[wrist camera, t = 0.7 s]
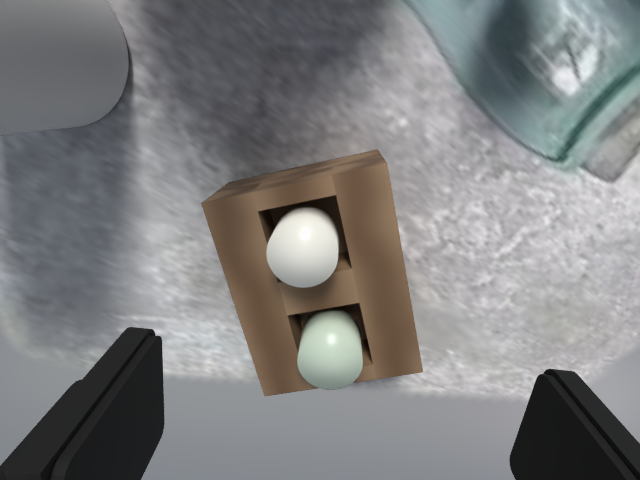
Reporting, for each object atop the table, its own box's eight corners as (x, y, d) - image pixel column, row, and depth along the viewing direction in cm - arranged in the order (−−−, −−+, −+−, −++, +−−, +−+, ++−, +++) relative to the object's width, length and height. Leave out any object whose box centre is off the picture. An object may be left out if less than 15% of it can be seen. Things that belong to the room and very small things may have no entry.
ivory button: (331, 199, 31) (329, 213, 27) (344, 259, 32) (344, 280, 29) (268, 212, 31) (258, 228, 28) (284, 270, 33) (276, 293, 29)
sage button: (354, 303, 34) (355, 329, 30) (365, 353, 35) (368, 384, 31) (295, 313, 34) (290, 340, 30) (309, 362, 36) (305, 393, 32)
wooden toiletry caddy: (377, 149, 36) (386, 163, 29) (408, 322, 42) (423, 372, 34) (229, 182, 38) (201, 203, 30) (278, 344, 43) (264, 396, 36)
